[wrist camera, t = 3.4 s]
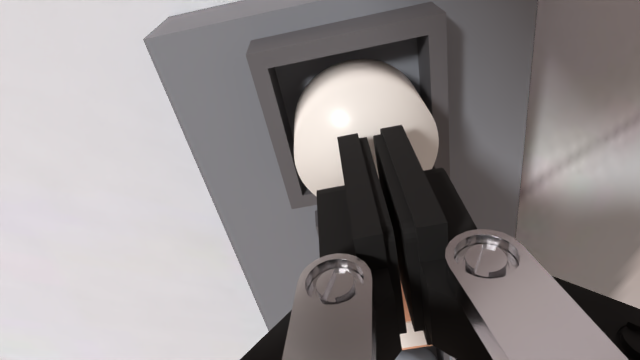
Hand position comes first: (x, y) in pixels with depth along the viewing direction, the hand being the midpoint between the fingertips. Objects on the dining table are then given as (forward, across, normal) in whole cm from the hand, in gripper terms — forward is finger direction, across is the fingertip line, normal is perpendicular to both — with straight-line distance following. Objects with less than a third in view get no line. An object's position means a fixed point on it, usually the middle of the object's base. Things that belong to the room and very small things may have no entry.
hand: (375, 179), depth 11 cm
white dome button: (+3, 0, 0) cm, 3 cm away
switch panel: (+7, 0, +10) cm, 12 cm away
